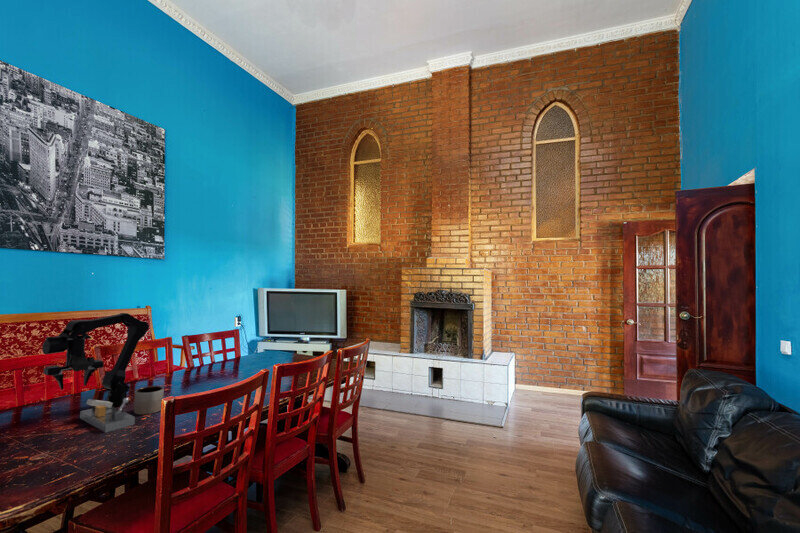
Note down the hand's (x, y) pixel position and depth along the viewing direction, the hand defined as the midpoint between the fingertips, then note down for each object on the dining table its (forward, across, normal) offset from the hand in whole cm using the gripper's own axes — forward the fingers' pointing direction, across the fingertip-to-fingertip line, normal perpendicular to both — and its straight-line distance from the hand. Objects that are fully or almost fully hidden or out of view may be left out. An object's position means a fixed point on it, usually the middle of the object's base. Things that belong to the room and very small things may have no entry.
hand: (73, 387), depth 162 cm
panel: (+12, +6, -17) cm, 22 cm away
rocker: (+7, +6, -8) cm, 13 cm away
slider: (+9, +4, -17) cm, 20 cm away
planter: (+12, +22, -17) cm, 30 cm away
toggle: (+8, +6, -26) cm, 27 cm away
